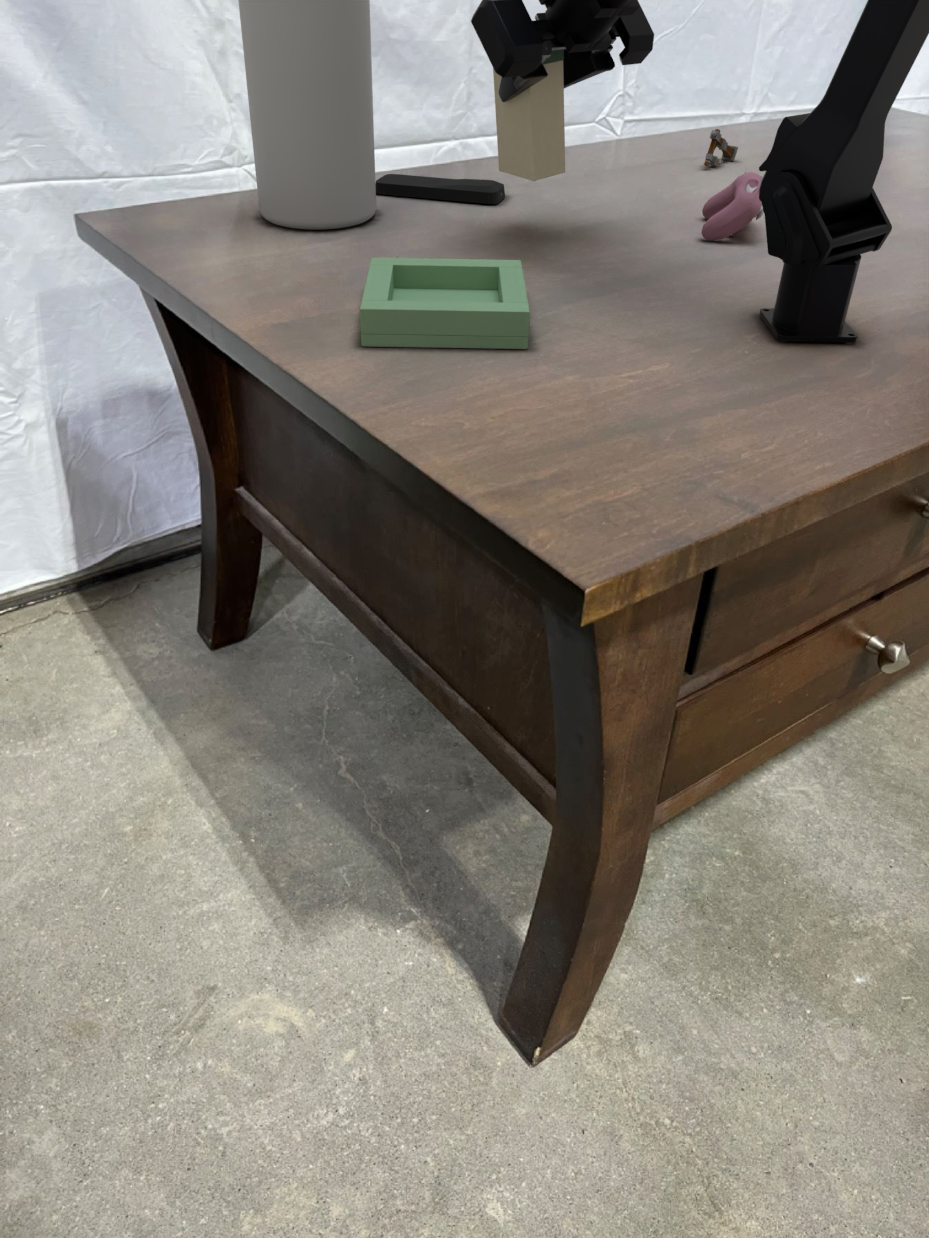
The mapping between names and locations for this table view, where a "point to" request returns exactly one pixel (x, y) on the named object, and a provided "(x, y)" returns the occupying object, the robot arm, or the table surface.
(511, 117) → the cream rectangular block
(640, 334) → the table surface
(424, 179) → the remote control
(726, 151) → the grey brown angular piece
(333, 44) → the cylinder vase
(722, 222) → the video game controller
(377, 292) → the green rectangular tray
